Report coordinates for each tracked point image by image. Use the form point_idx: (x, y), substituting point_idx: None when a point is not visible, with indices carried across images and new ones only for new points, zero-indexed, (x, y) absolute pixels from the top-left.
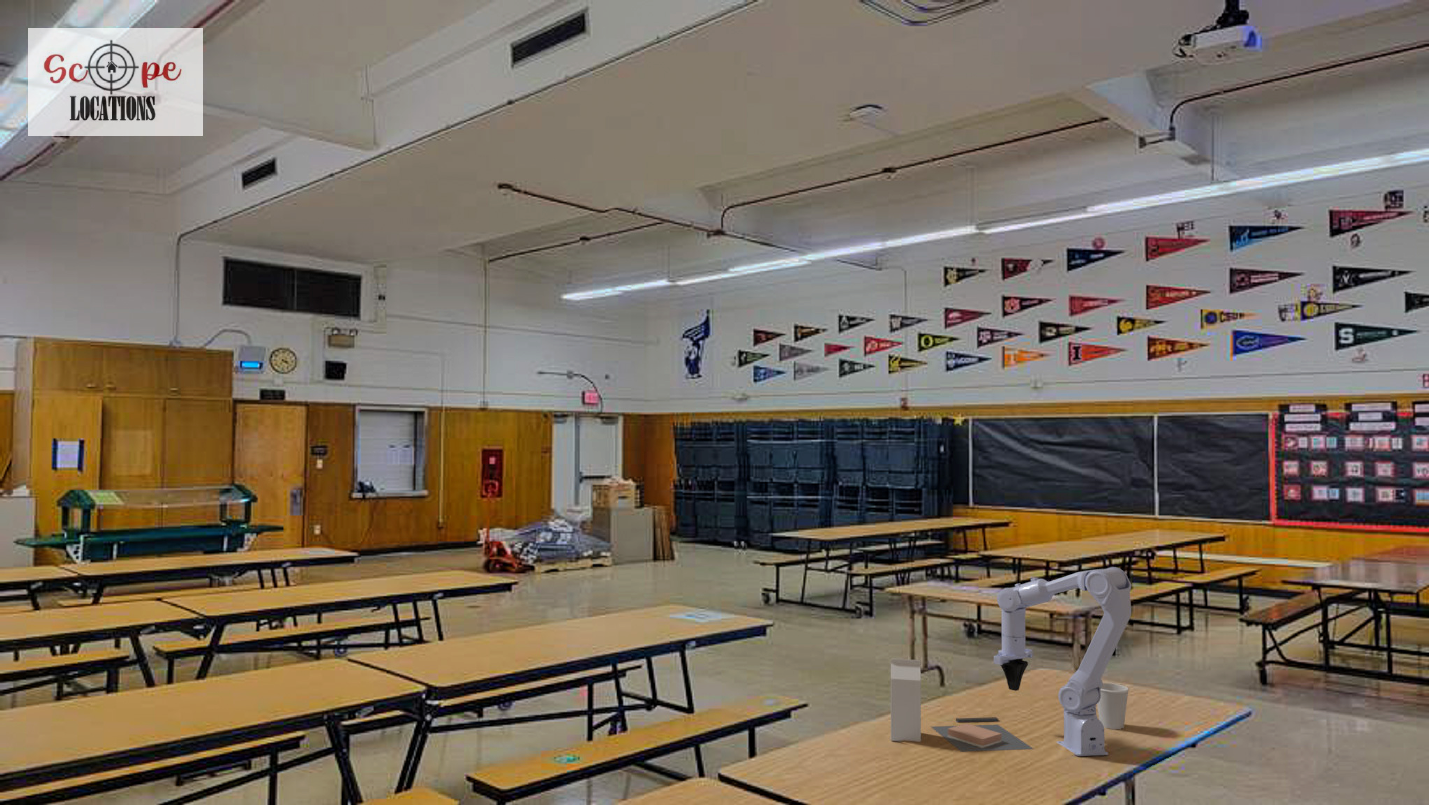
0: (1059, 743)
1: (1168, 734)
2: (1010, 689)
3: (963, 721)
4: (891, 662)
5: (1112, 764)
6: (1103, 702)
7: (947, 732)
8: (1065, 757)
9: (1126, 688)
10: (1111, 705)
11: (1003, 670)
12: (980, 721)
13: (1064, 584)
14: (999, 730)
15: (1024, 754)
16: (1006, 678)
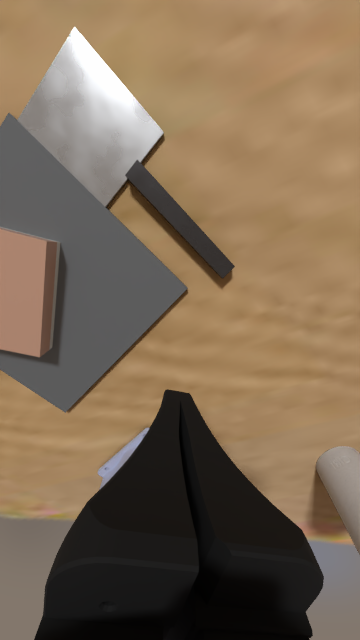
0: (138, 437)
1: (331, 526)
2: (163, 397)
3: (140, 192)
4: None
5: None
6: (356, 519)
7: (1, 196)
8: (81, 456)
9: None
10: (347, 527)
11: (127, 462)
12: (182, 236)
13: None
14: (138, 311)
15: (32, 402)
16: (152, 423)
